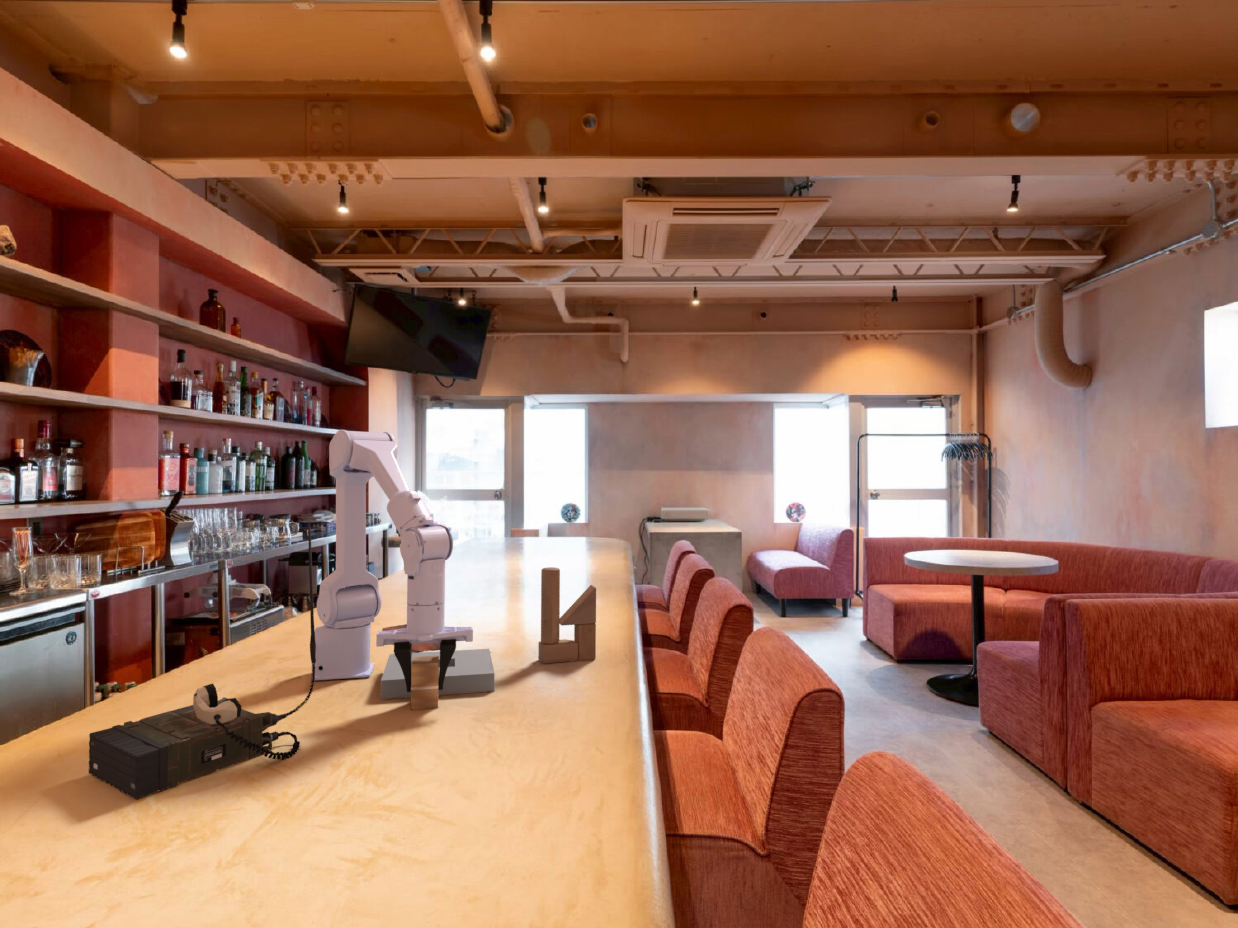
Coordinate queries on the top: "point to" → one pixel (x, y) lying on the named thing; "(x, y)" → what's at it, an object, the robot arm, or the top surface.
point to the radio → (188, 738)
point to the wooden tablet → (417, 646)
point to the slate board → (462, 674)
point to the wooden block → (566, 622)
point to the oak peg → (424, 682)
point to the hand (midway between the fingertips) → (425, 688)
